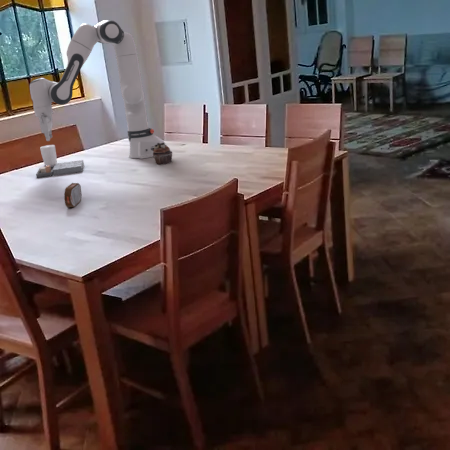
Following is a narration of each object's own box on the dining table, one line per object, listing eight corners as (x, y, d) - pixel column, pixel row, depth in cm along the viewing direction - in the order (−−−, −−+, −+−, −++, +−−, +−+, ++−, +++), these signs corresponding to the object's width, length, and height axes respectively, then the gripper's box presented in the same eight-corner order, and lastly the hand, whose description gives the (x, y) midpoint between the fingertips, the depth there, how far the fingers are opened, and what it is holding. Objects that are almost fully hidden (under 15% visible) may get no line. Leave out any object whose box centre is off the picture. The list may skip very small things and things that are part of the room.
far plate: (84, 165, 338) (83, 159, 337) (82, 171, 322) (81, 166, 322) (57, 169, 336) (56, 163, 335) (54, 175, 321) (52, 169, 320)
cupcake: (172, 163, 317) (169, 143, 313) (153, 165, 317) (150, 145, 314) (174, 159, 326) (171, 140, 323) (155, 161, 326) (152, 142, 323)
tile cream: (40, 167, 332) (41, 171, 333) (39, 169, 329) (40, 172, 329) (48, 166, 333) (49, 170, 334) (47, 167, 329) (48, 171, 330)
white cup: (60, 162, 355) (56, 144, 352) (55, 165, 347) (51, 147, 344) (46, 163, 356) (43, 145, 353) (41, 166, 348) (37, 148, 345)
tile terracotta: (50, 165, 325) (46, 165, 325) (49, 166, 321) (45, 167, 321) (51, 172, 326) (47, 173, 326) (50, 174, 323) (46, 174, 323)
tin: (77, 200, 268) (73, 180, 266) (84, 199, 268) (80, 179, 265) (65, 210, 254) (61, 190, 252) (73, 209, 254) (69, 189, 251)
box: (56, 169, 336) (55, 165, 335) (53, 175, 321) (52, 172, 320) (40, 171, 335) (39, 167, 334) (36, 178, 320) (36, 174, 319)
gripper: (47, 113, 310) (53, 141, 314) (52, 108, 329) (57, 135, 333) (34, 115, 309) (40, 143, 313) (39, 110, 328) (45, 137, 332)
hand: (49, 139), depth 323 cm, fingers open, 8 cm apart
